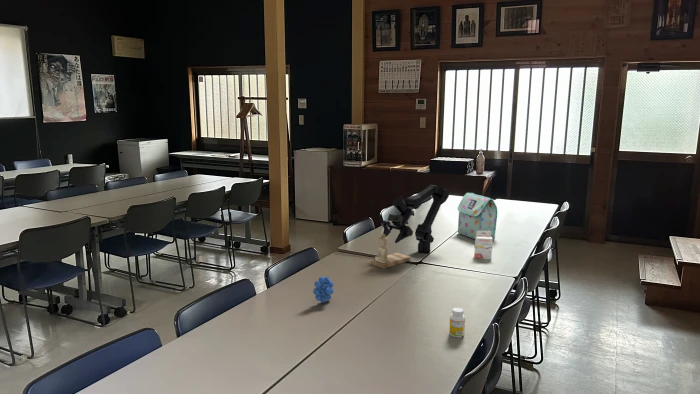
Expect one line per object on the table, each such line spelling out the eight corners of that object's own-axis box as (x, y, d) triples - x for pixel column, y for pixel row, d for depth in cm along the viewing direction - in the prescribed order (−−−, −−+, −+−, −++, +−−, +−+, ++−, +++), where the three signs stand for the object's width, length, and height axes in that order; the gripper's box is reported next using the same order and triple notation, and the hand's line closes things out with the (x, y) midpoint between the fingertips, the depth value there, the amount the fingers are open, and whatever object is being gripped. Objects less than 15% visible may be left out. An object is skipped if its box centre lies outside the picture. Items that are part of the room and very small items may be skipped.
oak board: (396, 256, 279) (396, 252, 279) (410, 260, 272) (410, 256, 272) (370, 263, 266) (370, 260, 266) (384, 268, 259) (384, 264, 259)
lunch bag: (454, 233, 326) (455, 192, 321) (474, 230, 333) (476, 190, 328) (477, 242, 306) (479, 198, 301) (498, 239, 313) (501, 196, 308)
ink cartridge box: (475, 258, 275) (476, 232, 272) (474, 256, 280) (475, 230, 277) (491, 259, 274) (493, 233, 271) (490, 256, 279) (491, 230, 276)
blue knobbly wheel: (321, 309, 208) (320, 281, 206) (309, 305, 213) (309, 278, 211) (340, 301, 217) (340, 274, 215) (329, 297, 221) (329, 271, 219)
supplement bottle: (453, 329, 190) (454, 305, 189) (466, 334, 187) (468, 309, 185) (446, 334, 186) (447, 310, 184) (459, 339, 183) (461, 314, 181)
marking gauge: (381, 258, 269) (382, 232, 266) (390, 261, 264) (390, 235, 262) (375, 260, 265) (375, 234, 263) (383, 263, 261) (383, 236, 258)
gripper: (383, 205, 273) (368, 228, 268) (410, 211, 260) (394, 235, 254) (393, 217, 280) (379, 240, 275) (419, 223, 266) (404, 248, 261)
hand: (388, 240), depth 266 cm, fingers open, 9 cm apart
